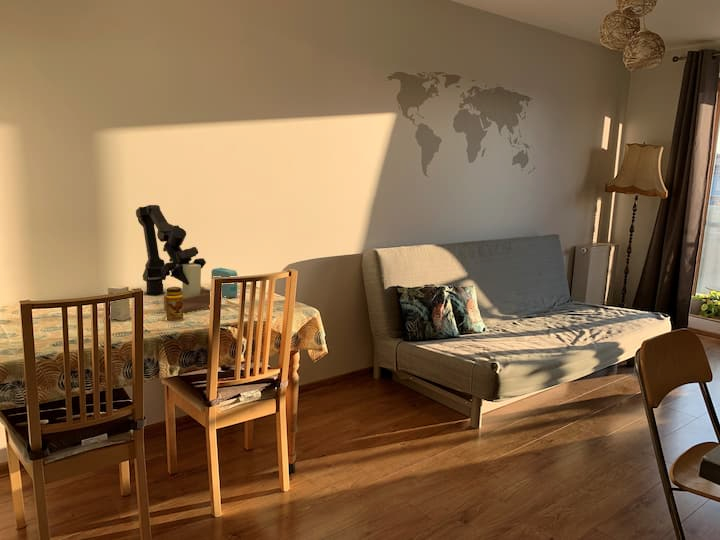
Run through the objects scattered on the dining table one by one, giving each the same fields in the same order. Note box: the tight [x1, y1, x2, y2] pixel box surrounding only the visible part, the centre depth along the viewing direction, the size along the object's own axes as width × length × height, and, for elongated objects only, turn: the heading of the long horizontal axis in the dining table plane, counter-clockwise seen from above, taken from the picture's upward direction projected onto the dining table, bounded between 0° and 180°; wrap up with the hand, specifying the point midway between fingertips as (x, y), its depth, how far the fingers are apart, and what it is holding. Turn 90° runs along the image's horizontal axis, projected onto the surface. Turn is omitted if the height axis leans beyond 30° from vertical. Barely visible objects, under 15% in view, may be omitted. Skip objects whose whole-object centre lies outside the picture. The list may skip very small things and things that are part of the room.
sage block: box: [181, 262, 202, 298], centre depth 237 cm, size 5×5×14 cm
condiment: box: [158, 286, 189, 323], centre depth 220 cm, size 7×8×12 cm
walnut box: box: [163, 287, 211, 314], centre depth 238 cm, size 10×19×6 cm, turn 145°
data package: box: [211, 267, 238, 298], centre depth 261 cm, size 12×4×12 cm, turn 54°
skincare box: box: [107, 285, 131, 321], centre depth 218 cm, size 6×4×12 cm
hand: (193, 283), depth 236 cm, fingers closed on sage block, 5 cm apart
